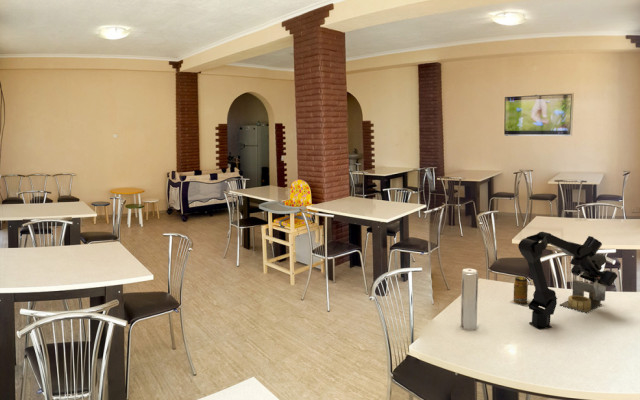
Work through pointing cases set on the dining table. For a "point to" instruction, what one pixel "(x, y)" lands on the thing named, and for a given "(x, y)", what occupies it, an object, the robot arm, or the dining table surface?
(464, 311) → the silver cylinder
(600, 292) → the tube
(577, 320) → the dining table surface
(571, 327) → the dining table surface
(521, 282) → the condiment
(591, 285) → the collar stand
